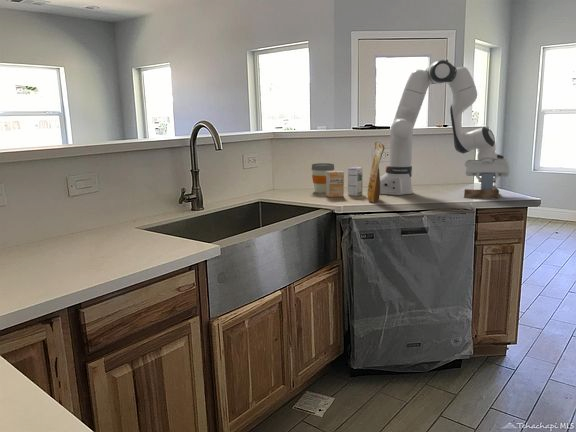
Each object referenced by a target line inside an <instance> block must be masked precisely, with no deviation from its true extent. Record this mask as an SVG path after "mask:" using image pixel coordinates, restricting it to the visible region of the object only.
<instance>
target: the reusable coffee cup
mask: <svg viewBox="0 0 576 432" xmlns="http://www.w3.org/2000/svg"><path fill="white" fill-rule="evenodd" d="M326 171H335V164H334V163H331V162H330V163H328V162H327V163H324V162H323V163H322V162H321V163H320V162H319V163H312V164H311V172H312V174H311V177H312V183H313V187H314V192H315V193H320V194H321V193H322V194H326Z"/></svg>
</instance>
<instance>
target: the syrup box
mask: <svg viewBox="0 0 576 432" xmlns="http://www.w3.org/2000/svg"><path fill="white" fill-rule="evenodd" d="M347 195H348V196H355V197H357V196H361V195H363V167H362V166H352V167H351V166H350V167H347Z"/></svg>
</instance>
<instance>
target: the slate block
mask: <svg viewBox="0 0 576 432" xmlns="http://www.w3.org/2000/svg"><path fill="white" fill-rule="evenodd" d="M481 178H482V182H480V190H493V186H494V183H493V178H495V176H494V175H493V174H492V173H482V176H481Z"/></svg>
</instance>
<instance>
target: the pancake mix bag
mask: <svg viewBox="0 0 576 432" xmlns="http://www.w3.org/2000/svg"><path fill="white" fill-rule="evenodd" d="M384 151H385V145H384V144H383V143H381V142H378V141H375V142H374V155H373V160H372V165H371V169H370V175H369V178H368V179H369V180H368V186H367V187H368V188H367V199H368V202H369V203H376V204H377V203H378V202H379V201H380V196H381V194H380V177H381V176H380V167H379V166H380V162H381V159H382V157H383V154H384Z"/></svg>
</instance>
